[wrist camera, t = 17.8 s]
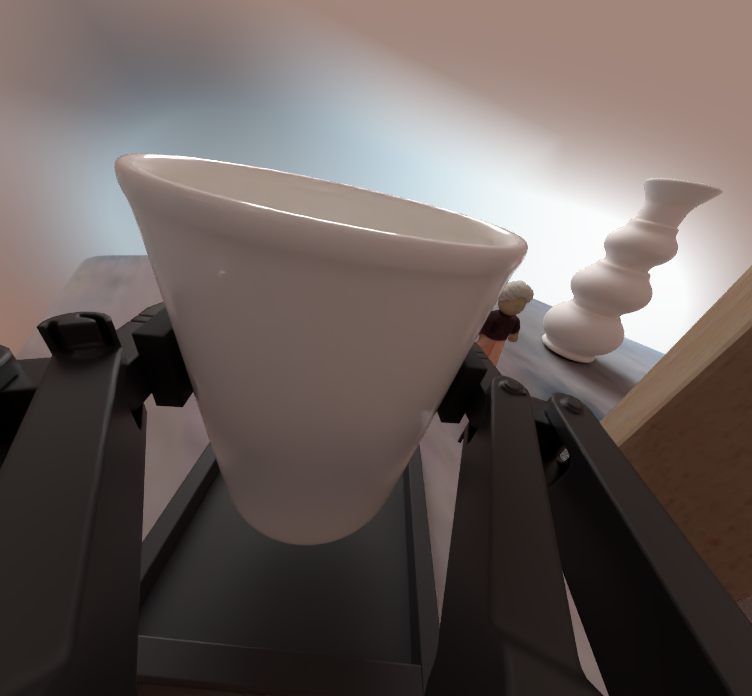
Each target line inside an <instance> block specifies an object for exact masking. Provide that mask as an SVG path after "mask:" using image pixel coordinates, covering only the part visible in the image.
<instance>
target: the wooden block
mask: <svg viewBox="0 0 752 696" xmlns="http://www.w3.org/2000/svg"><path fill="white" fill-rule="evenodd" d="M600 424H601V425H602V426H603V428H604V429H605V430H606V432H607V433H608V434H609V436H610V437H611V438H612V440H613V441H614V442H615V444H616V445H617V446H618V448H619V449H620V450H621V452H622V453H623V454H624V456H625V457H626V458H627V459H628V461H629V462H630V463H631V465H632V466H633V467H634V469H635V470H636V471H637V473H638V474H639V475H640V477H641V478H642V479H643V481H644V482H645V483H646V485H647V486H648V487H649V489H650V490H651V491H652V493H653V494H654V495H655V497H656V498H657V499H658V500H659V502H660V503H661V504H662V506H663V507H664V508H665V510H666V511H667V512H668V514H669V515H670V516H671V518H672V519H673V520H674V522H675V523H676V524H677V526H678V527H679V528H680V530H681V531H682V532H683V534H684V535H685V536H686V538H687V539H688V540H689V541H690V543H691V544H692V545H693V547H694V548H695V549H696V551H697V552H698V553H699V555H700V556H701V557H702V559H703V560H704V561H705V563H706V564H707V565H708V567H709V568H710V569H711V571H712V572H713V573H714V575H715V576H716V577H717V579H718V580H719V581H720V582H721V584H722V585H723V586H724V588H725V589H726V590H727V592H728V593H729V594H730V596H731V597H732V598H733V600H734V601H737V600H740V599H743V598H746V597H749V596H752V266H751V267H750V268H749V269H748V270H747V271H746V272H745V273H744V274H743V275H742V276H741V277H740V278H739V279H738V280H737V281H736V282H735V283H734V284H733V286H732V287H731V288H729V289H728V291H727V292H726V293H725V294H724V295H723V296H722V297H721V298H720V299H719V300H718V301H717V302H716V303H715V304H714V305H713V306H712V307H711V308H710V309H709V310H708V311H707V312H706V313H705V314H704V315H703V316H702V317H701V318H700V319H699V321H698V322H697V323H696V324H695V325H694V326H693V327H692V328H691V329H690V330H689V331H688V332H687V333H686V334H685V335H684V336H683V337H682V338H681V339H680V340H679V341H678V342H677V343H676V344H675V345H674V346H673V347H672V348H671V349H670V351H669V352H668V353H667V354H666V355H665V356H664V357H663V358H662V359H661V360H660V361H659V362H658V363H657V364H656V365H655V366H654V367H653V368H652V369H651V370H650V371H649V372H648V373H647V374H646V375H645V376H644V377H643V378H642V379H641V380H640V381H639V382H638V383H637V385H636V386H635V387H634V388H633V389H632V390H631V391H630V392H629V393H628V394H627V395H626V396H625V397H624V398H623V399H622V400H621V401H620V402H619V403H618V404H617V405H616V406H615V407H614V408H613V409H612V410H611V411H610V412H609V413H608V414H607V415H606V417H605V418H604V419H603V420H602V421H601V422H600Z"/></svg>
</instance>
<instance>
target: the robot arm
mask: <svg viewBox="0 0 752 696" xmlns="http://www.w3.org/2000/svg"><path fill="white" fill-rule="evenodd" d="M37 328H38V330H39V332H40V334H41V336H42V337H43V339H44V341H45V343H46V344H47V346H48V348H49V350H50V351H51V353H52V357H51V358H38V359H24V360H16V358H15V357H14V355H13V354H12V352H11V351H10V349H9V348H7V347H5V346H2V345H0V696H137V652H138V626H139V601H140V575H141V550H142V524H143V499H144V474H145V448H146V423H147V411H146V408H145V405H144V403H143V402H144V401H145V400H146V399H147V398H148V397H149V395H150V394H151V393H152V394H153V397H154V400H155V402H156V405H157V406H172V407H183V406H184V404H185V403H186V401H187V400H188V398H189V397H190V395H191V394H192V393H193V389H192V386H191V383H190V380H189V377H188V374H187V371H186V368H185V365H184V362H183V359H182V356H181V353H180V350H179V347H178V344H177V341H176V338H175V335H174V332H173V329H172V326H171V323H170V320H169V317H168V314H167V311H166V308H165V305H164V302H162V303H159V304H156V305H153V306H151V307H148V308H147V309H145V310H144V311H143V312H141V313H140V314H139V316H136V317H134V318H133V319H131V322H127V323H126V324H125V325H123V326H122V327H120V328H119V329H118V330H115V327H114V325H113V322H112V320H111V317H110V316H108V315H106V314H104V313H98V312H75V313H67V314H63V315H59V316H55V317H52V318H50V319H47V320H45V321H43V322H42V323H40V324H39V325H38V326H37ZM437 412H438V415H439V417H440V420H441V422H444V423H460V421H461V419H462V417H463V415H464V414H465V413H466V415H467V417H468V419H469V422H468V424H467V426H466V427H465V429H464V431H463V433H462V435H461V436H460V438H459V440H458V442H460V443H461V441H462V440H463V439H464V440H463V448H462V456H461V464H460V472H459V480H458V488H457V496H456V504H455V512H454V520H453V528H452V536H451V544H450V552H449V560H448V568H447V576H446V584H445V592H444V600H443V608H442V616H441V624H440V632H439V640H438V647H437V653H436V657H435V661H434V664H433V667H432V670H431V672H430V675H429V678H428V681H427V685H426V689H425V694H424V696H603V695H602V694H601V693H600V692H599V691H598V690H597V689H596V688H595V687H594V685H593V684H592V683H591V682H590V681H589V680H588V679H587V678H586V676H585V674H584V672H583V670H582V668H581V665H580V661H579V658H578V653H577V648H576V642H575V637H574V632H573V626H572V621H571V615H570V610H569V605H568V599H567V594H566V588H565V583H564V577H563V573H564V576H565V579H566V581H567V584H568V587H569V590H570V592H571V595H572V598H573V600H574V603H575V606H576V608H577V611H578V614H579V616H580V619H581V622H582V624H583V627H584V630H585V632H586V635H587V638H588V641H589V643H590V646H591V649H592V651H593V654H594V657H595V659H596V662H597V665H598V667H599V670H600V673H601V675H602V678H603V681H604V684H605V686H606V689H607V692H608V694H609V696H752V623H751V622H750V621H749V620H748V618H747V617H746V616H745V614H744V613H743V612H742V610H741V609H740V608H739V606H738V605H737V604H736V602H735V601H734V600H733V598H732V597H731V596H730V594H729V593H728V592H727V590H726V589H725V588H724V586H723V585H722V584H721V582H720V581H719V580H718V579H717V577H716V576H715V575H714V573H713V572H712V571H711V569H710V568H709V567H708V565H707V564H706V563H705V561H704V560H703V559H702V557H701V556H700V555H699V553H698V552H697V551H696V549H695V548H694V547H693V545H692V544H691V543H690V541H689V540H688V539H687V538H686V536H685V535H684V534H683V532H682V531H681V530H680V528H679V527H678V526H677V524H676V523H675V522H674V520H673V519H672V518H671V516H670V515H669V514H668V512H667V511H666V510H665V508H664V507H663V506H662V504H661V503H660V502H659V500H658V499H657V498H656V497H655V495H654V494H653V493H652V491H651V490H650V489H649V487H648V486H647V485H646V483H645V482H644V481H643V479H642V478H641V477H640V475H639V474H638V473H637V471H636V470H635V469H634V467H633V466H632V465H631V463H630V462H629V461H628V459H627V458H626V457H625V456H624V454H623V453H622V452H621V450H620V449H619V448H618V446H617V445H616V444H615V442H614V441H613V440H612V438H611V437H610V436H609V434H608V433H607V432H606V430H605V429H604V428H603V426H602V425H601V424H600V422H599V421H598V420H597V418H596V417H595V416H594V415H593V413H592V412H591V411H590V409H589V408H588V407H587V406H586V405H584V404H583V403H582V402H580V400H578V399H577V398H574V397H573V396H570V395H566V394H563V393H554V394H552V396H551V397H550V398H549V400H548V401H544V400H540V399H537V398H534V397H531V396H530V394H529V392H528V390H527V389H526V388H525V387H524V386H523V385H522V384H520V383H519V382H518V381H516V380H514V379H511V378H509V377H505V376H502V375H501V374H500V372H499V371H498V370H497V368H496V367H495V366H494V364H493V363H492V362H491V360H489V358H488V356H487V355H486V354H485V352H484V351H483V350H482V348H481V347H480V346H479V345H478V344H477V343H475V342H474V344H473V346H472V347H471V349H470V351H469V353H468V355H467V357H466V359H465V360H464V362H463V364H462V366H461V368H460V370H459V371H458V373H457V375H456V377H455V379H454V381H453V382H452V384H451V386H450V388H449V390H448V392H447V393H446V395H445V397H444V399H443V401H442V403H441V404H440V406H439V408H438V410H437ZM565 448H566V449H567V451H568V453H569V455H570V457H569V458H568V459H567V460H566V461H564V462H563V460H562V459H561V457H560V454H561V453H562V452H563V451H564V449H565ZM562 571H563V572H562Z"/></svg>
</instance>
